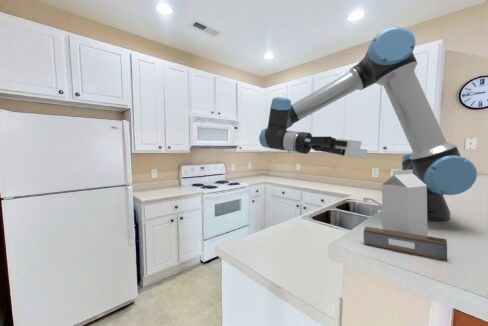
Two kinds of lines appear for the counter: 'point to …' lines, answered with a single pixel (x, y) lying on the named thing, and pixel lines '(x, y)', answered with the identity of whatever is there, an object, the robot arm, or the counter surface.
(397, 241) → the price rail
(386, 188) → the milk carton
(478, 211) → the counter surface
